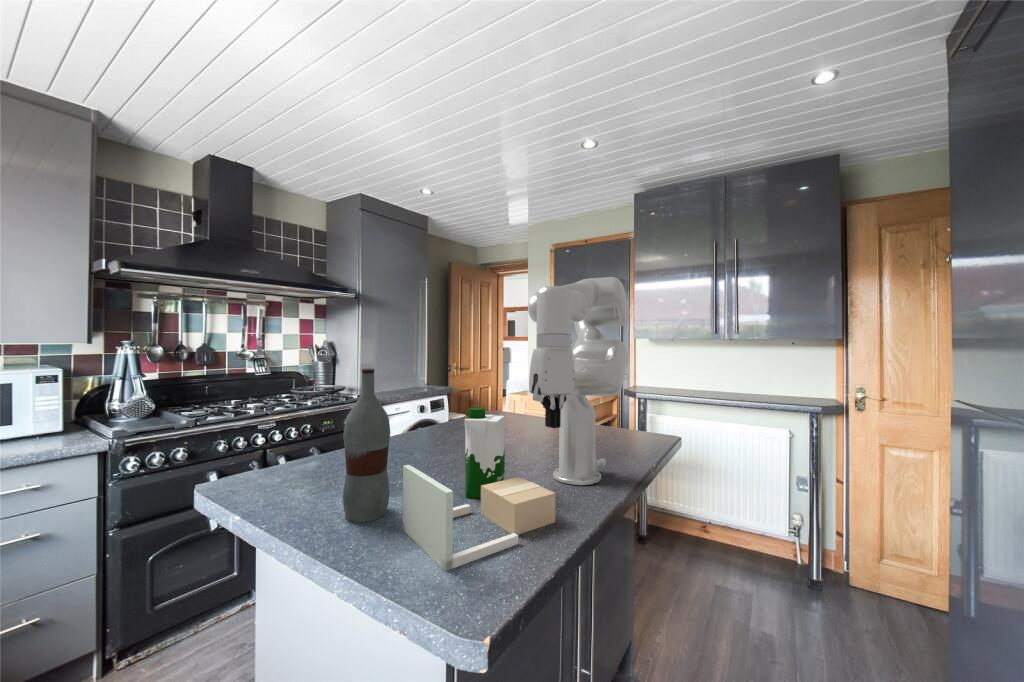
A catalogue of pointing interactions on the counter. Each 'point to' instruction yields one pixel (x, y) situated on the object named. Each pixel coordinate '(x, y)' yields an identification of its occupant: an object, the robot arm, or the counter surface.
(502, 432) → the milk carton
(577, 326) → the robot arm
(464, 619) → the counter surface
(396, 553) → the counter surface
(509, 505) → the kraft carton
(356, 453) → the bottle
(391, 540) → the counter surface
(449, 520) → the display stand
